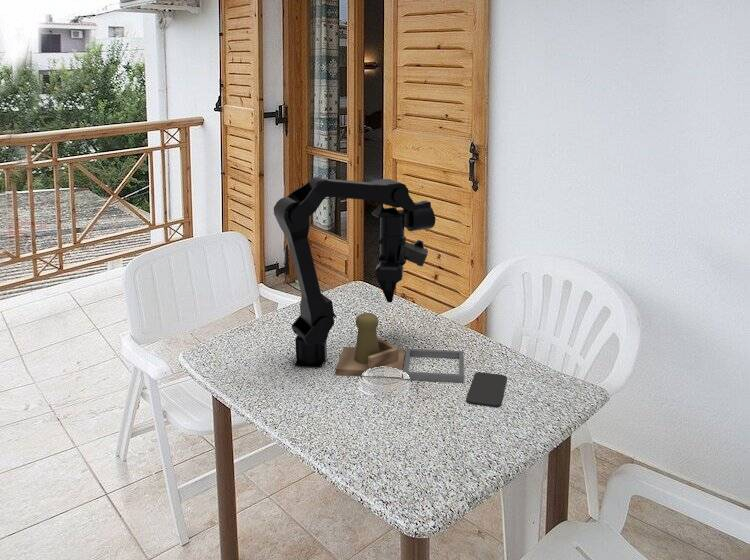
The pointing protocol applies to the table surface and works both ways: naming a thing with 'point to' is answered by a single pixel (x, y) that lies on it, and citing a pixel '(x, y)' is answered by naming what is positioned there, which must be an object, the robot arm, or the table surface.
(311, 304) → the robot arm
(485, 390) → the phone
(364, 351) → the cork
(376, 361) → the dog kennel
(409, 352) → the steel collar
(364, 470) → the table surface
